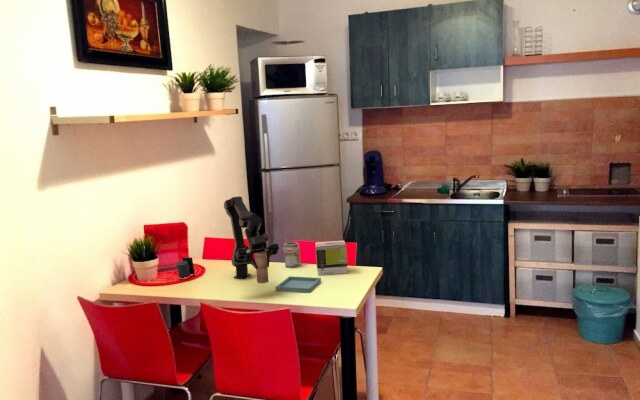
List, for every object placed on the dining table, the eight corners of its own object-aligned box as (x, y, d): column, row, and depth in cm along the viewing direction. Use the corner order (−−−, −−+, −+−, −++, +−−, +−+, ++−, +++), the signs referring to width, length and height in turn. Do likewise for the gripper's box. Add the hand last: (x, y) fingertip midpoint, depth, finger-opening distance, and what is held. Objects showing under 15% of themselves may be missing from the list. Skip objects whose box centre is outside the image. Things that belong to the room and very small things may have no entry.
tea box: (346, 268, 278) (345, 239, 276) (348, 273, 268) (346, 244, 266) (316, 270, 278) (315, 241, 275) (317, 275, 268) (315, 246, 265)
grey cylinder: (298, 268, 282) (296, 245, 280) (282, 268, 284) (281, 245, 282) (302, 263, 291) (301, 241, 289) (287, 263, 293) (285, 241, 291)
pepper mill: (260, 279, 244) (258, 251, 242) (270, 280, 243) (268, 251, 241) (255, 282, 240) (253, 254, 238) (265, 283, 238) (263, 254, 236)
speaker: (187, 274, 281) (184, 255, 278) (195, 276, 278) (192, 257, 275) (176, 280, 275) (173, 260, 272) (184, 282, 272) (181, 262, 269)
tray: (289, 280, 262) (289, 276, 262) (321, 282, 257) (320, 277, 257) (275, 290, 247) (275, 286, 247) (309, 292, 242) (308, 288, 242)
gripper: (235, 230, 238) (244, 261, 229) (276, 225, 245) (286, 254, 237) (232, 245, 246) (240, 274, 238) (271, 239, 253) (281, 268, 245)
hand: (262, 267), depth 239 cm, fingers closed on pepper mill, 5 cm apart
